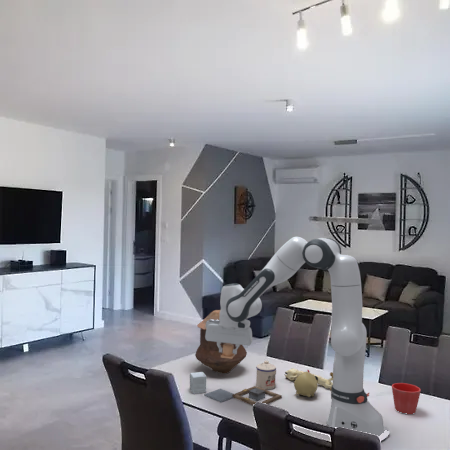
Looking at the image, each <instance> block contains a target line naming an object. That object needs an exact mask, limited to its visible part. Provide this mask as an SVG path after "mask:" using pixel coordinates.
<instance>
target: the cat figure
mask: <svg viewBox="0 0 450 450" xmlns="http://www.w3.org/2000/svg"><path fill="white" fill-rule="evenodd" d="M304 372H305V371H302V370H299V369H296V368H294V367H293V368H290V369H288V370H286V371H284V376H285V378H287V379H288V380H289V381H295V380H296V379H297V377H298V376H299V375H301V374H302V373H304ZM306 372H309V373H311V371H310V370H309V369H307V371H306ZM311 374H314V373H311ZM314 376H317V377H318V383H317V385H318V386H319V385H320V386H323V388H325V389H327V390H328V389H329V390H330V392H331V387H332V385H333V371H332V372H330V373H329V376H330V377H329V379H328V378H325V377H322V376H321V375H319V374H318V375H317V374H314Z"/></svg>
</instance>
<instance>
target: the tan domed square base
mask: <svg viewBox="0 0 450 450" xmlns="http://www.w3.org/2000/svg"><path fill="white" fill-rule="evenodd" d="M233 349H234V345H233V344H229V343H225V344H223V354H222V355H221V358H229V359H232V358H233V357H234V356H235V354H233Z"/></svg>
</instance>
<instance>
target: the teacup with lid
mask: <svg viewBox="0 0 450 450" xmlns="http://www.w3.org/2000/svg"><path fill="white" fill-rule="evenodd" d="M255 368H256V376H255V377H256V378H255V379H256V381H255V386H256V387H259V388H262V389H265V390H273V389H274V388H276V375H277V367H276V365H274V364H272V363H271V362H269V361H268V360H264V362H261V363H258V364H257V365H256V367H255Z"/></svg>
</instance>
